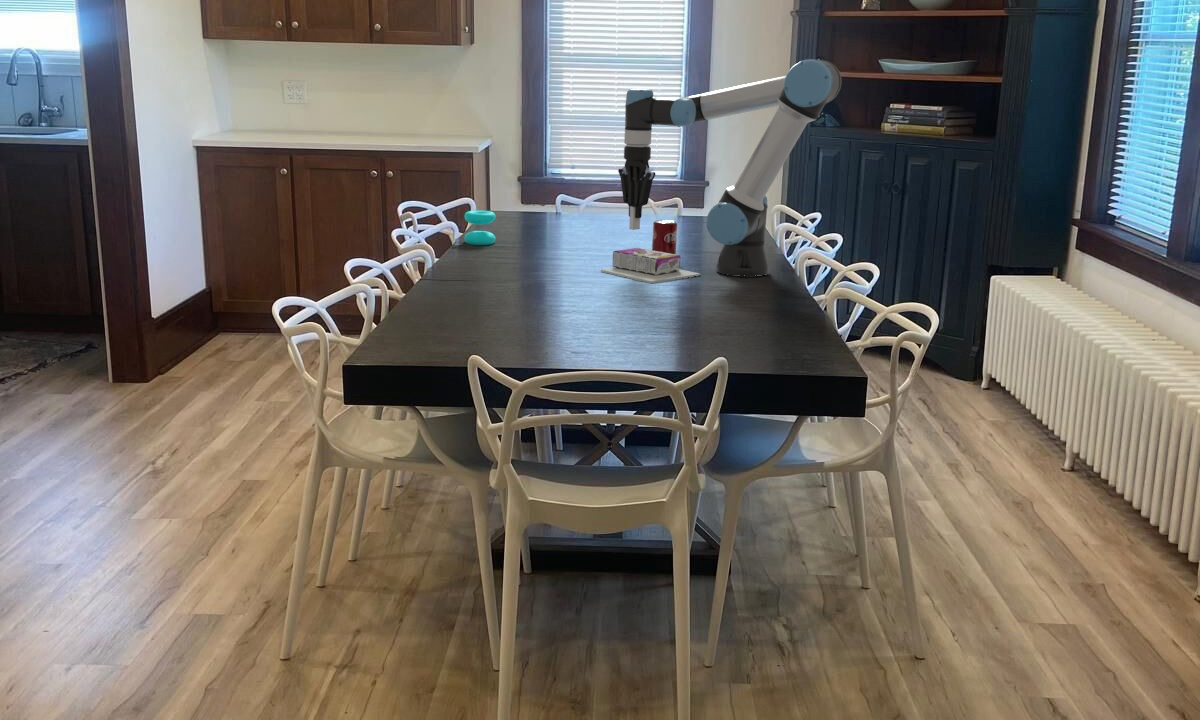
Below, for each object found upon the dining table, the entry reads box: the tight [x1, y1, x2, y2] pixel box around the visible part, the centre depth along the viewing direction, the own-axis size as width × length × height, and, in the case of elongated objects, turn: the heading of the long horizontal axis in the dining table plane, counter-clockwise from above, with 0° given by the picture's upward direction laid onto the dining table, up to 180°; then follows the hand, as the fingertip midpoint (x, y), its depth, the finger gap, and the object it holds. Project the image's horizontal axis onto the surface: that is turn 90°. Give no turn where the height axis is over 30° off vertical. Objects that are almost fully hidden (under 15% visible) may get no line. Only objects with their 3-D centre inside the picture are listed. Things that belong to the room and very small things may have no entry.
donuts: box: [464, 210, 497, 246], centre depth 359 cm, size 10×10×10 cm
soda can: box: [651, 219, 678, 255], centre depth 338 cm, size 7×7×12 cm
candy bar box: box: [612, 247, 681, 275], centre depth 321 cm, size 11×5×16 cm
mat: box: [600, 267, 702, 284], centre depth 319 cm, size 20×20×1 cm
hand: (634, 229), depth 321 cm, fingers closed
